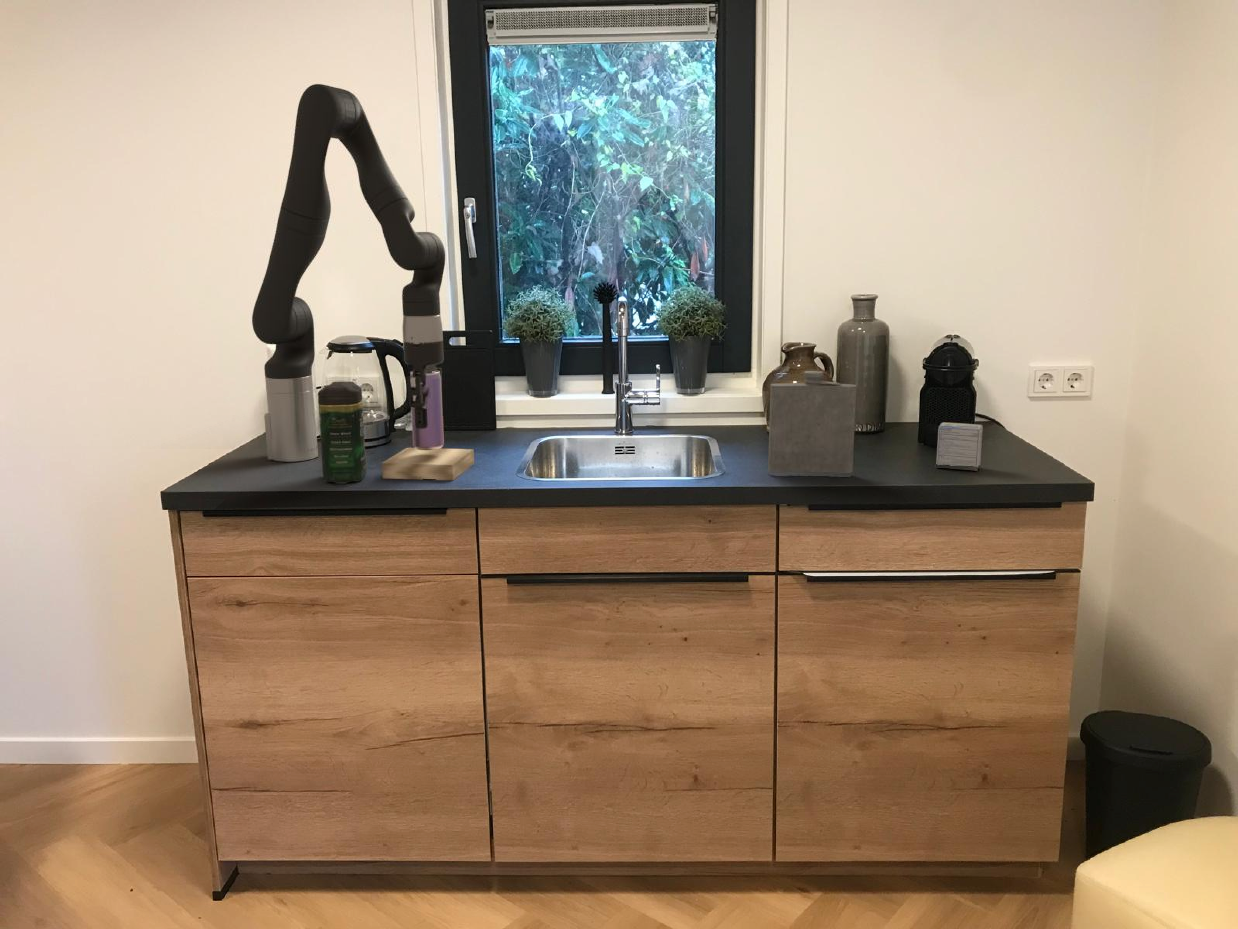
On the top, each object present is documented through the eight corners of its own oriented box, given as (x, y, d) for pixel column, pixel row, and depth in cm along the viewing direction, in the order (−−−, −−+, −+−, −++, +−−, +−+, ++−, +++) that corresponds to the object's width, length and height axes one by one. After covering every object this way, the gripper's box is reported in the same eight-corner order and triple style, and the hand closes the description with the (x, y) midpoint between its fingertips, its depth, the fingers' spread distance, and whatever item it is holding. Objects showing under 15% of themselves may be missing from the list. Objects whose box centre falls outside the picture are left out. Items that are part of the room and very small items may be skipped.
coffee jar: (363, 484, 191) (356, 385, 187) (320, 485, 190) (312, 386, 186) (370, 472, 200) (364, 378, 196) (329, 473, 199) (322, 379, 195)
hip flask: (768, 476, 195) (771, 372, 190) (767, 471, 199) (770, 369, 194) (853, 478, 193) (858, 373, 188) (850, 473, 197) (855, 370, 192)
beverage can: (437, 451, 196) (433, 374, 193) (408, 450, 197) (404, 373, 194) (448, 445, 202) (445, 369, 199) (420, 443, 203) (416, 369, 200)
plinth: (382, 478, 195) (381, 462, 194) (408, 461, 208) (407, 447, 208) (453, 480, 193) (452, 465, 192) (474, 463, 206) (473, 449, 206)
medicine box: (980, 467, 201) (983, 424, 199) (977, 472, 197) (981, 428, 195) (938, 464, 204) (941, 421, 202) (935, 468, 200) (938, 425, 198)
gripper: (416, 334, 202) (421, 417, 206) (390, 342, 188) (395, 431, 192) (453, 335, 201) (456, 418, 205) (429, 343, 187) (433, 432, 191)
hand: (427, 424), depth 199 cm, fingers closed on beverage can, 6 cm apart
